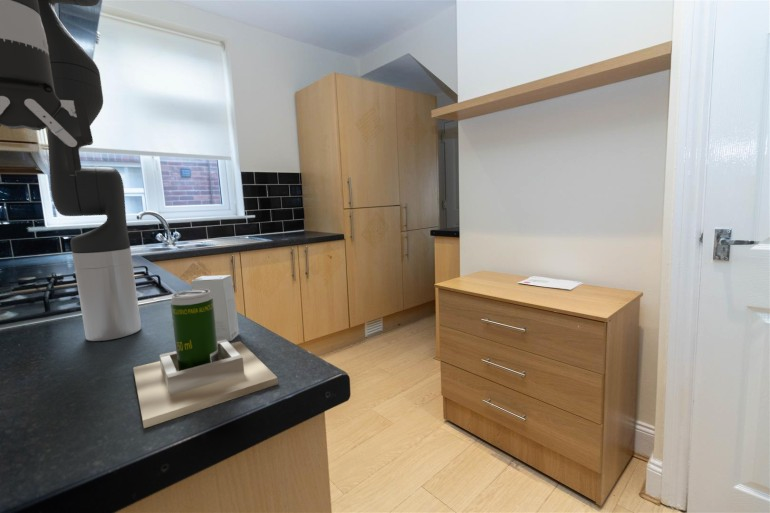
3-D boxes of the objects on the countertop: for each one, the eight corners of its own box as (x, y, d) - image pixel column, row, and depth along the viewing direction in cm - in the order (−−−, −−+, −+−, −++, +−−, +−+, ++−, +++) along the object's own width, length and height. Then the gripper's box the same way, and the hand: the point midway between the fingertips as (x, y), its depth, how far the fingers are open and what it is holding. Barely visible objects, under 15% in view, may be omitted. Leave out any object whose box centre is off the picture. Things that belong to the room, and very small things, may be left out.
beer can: (225, 363, 57) (217, 287, 55) (212, 379, 52) (203, 296, 50) (188, 366, 57) (179, 289, 55) (172, 382, 51) (162, 299, 50)
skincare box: (240, 333, 73) (234, 273, 71) (230, 342, 69) (224, 278, 67) (209, 334, 73) (202, 274, 71) (197, 343, 69) (190, 279, 67)
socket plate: (134, 373, 57) (131, 352, 56) (240, 346, 66) (238, 327, 66) (143, 428, 43) (139, 400, 42) (277, 384, 52) (276, 360, 52)
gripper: (82, 66, 55) (98, 177, 57) (-64, 44, 46) (-37, 176, 49) (79, 48, 49) (97, 174, 51) (-89, 20, 40) (-57, 172, 43)
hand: (32, 175), depth 50 cm, fingers open, 8 cm apart
